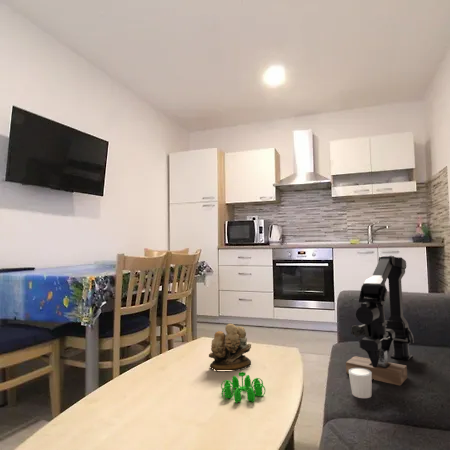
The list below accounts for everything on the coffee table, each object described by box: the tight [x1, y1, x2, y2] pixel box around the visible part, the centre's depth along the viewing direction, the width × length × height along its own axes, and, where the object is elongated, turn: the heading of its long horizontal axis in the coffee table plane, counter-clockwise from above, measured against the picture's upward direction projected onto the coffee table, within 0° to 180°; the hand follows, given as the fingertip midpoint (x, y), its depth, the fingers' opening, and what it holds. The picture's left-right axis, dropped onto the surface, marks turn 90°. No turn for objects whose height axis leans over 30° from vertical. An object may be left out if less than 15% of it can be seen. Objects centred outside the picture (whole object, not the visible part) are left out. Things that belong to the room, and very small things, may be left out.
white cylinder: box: [348, 368, 373, 399], centre depth 107 cm, size 7×7×7 cm
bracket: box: [372, 349, 389, 369], centre depth 120 cm, size 3×4×9 cm, turn 46°
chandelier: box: [220, 371, 266, 404], centre depth 112 cm, size 15×15×7 cm
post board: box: [345, 355, 408, 386], centre depth 121 cm, size 8×18×4 cm, turn 47°
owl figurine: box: [208, 323, 252, 371], centre depth 139 cm, size 18×12×17 cm, turn 108°
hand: (379, 363), depth 120 cm, fingers open, 9 cm apart
